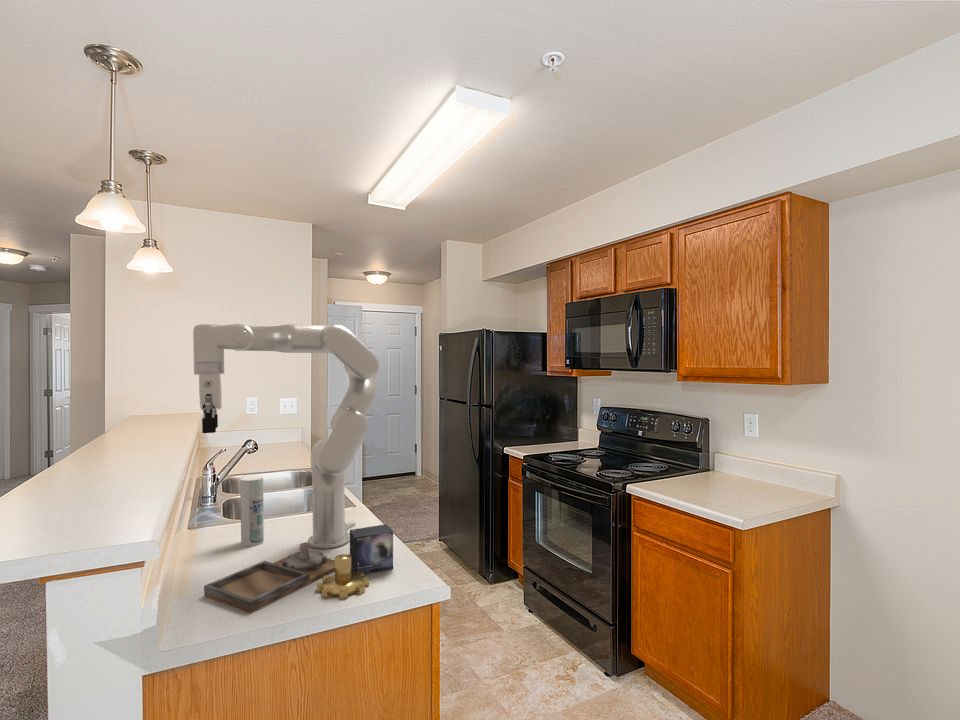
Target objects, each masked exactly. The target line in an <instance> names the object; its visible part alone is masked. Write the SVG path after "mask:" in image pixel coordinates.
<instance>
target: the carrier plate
mask: <svg viewBox="0 0 960 720" xmlns="http://www.w3.org/2000/svg"><path fill="white" fill-rule="evenodd" d="M331 573H335V559H333V558H332V559H331V558H327V555H323V552H322V551H316V552H310V546H309V543H308V542H302V543H300V544H299V551H297V552H295V553H292V554H290V555H288V556H286V557H283V558H281V559H279V560H276V561H274V562H271V561H267V560H263V561H261V562H259V563H256V564H254V565H251V566H249V567H246V568H244V569H241V570H238V571H237V572H234V573H231V574H230V575H226V576H225V577H222V578H220V579H217V580H214V581H213V582H209V583H208V584H204V586H203V596H204V598H209V599H211V600H213V601H217V602H219V603H220V604H221V603H222V604H225V605H228V606H230V607H233V608H236V609H238V610H241V611H244V612H246V613H249V614H252V613H253V612H256V611H258V610H260V609H261V608H263V607H265V606H268V605H269V604H271V603H274V602H276V601H277V600H280V599H283V598H284V597H286V596H288V595H289V594H292V593H294V592H295V591H298V590H300V589H301V588H303V587H304V588H305V587H306V586H308V585H310V584H312V583H314V582H316V581H318V580H319V579H323V577H325V576H327V575H330V574H331Z"/></svg>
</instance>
